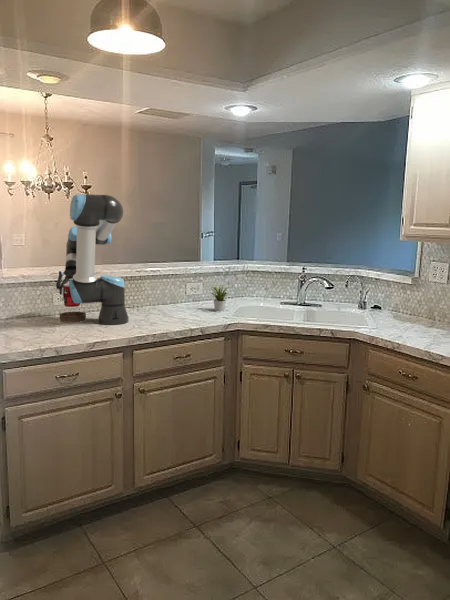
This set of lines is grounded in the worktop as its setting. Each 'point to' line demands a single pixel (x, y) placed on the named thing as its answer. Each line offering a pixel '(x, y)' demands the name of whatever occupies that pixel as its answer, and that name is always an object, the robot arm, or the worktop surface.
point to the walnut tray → (72, 317)
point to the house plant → (219, 298)
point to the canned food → (68, 297)
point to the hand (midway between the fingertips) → (71, 299)
